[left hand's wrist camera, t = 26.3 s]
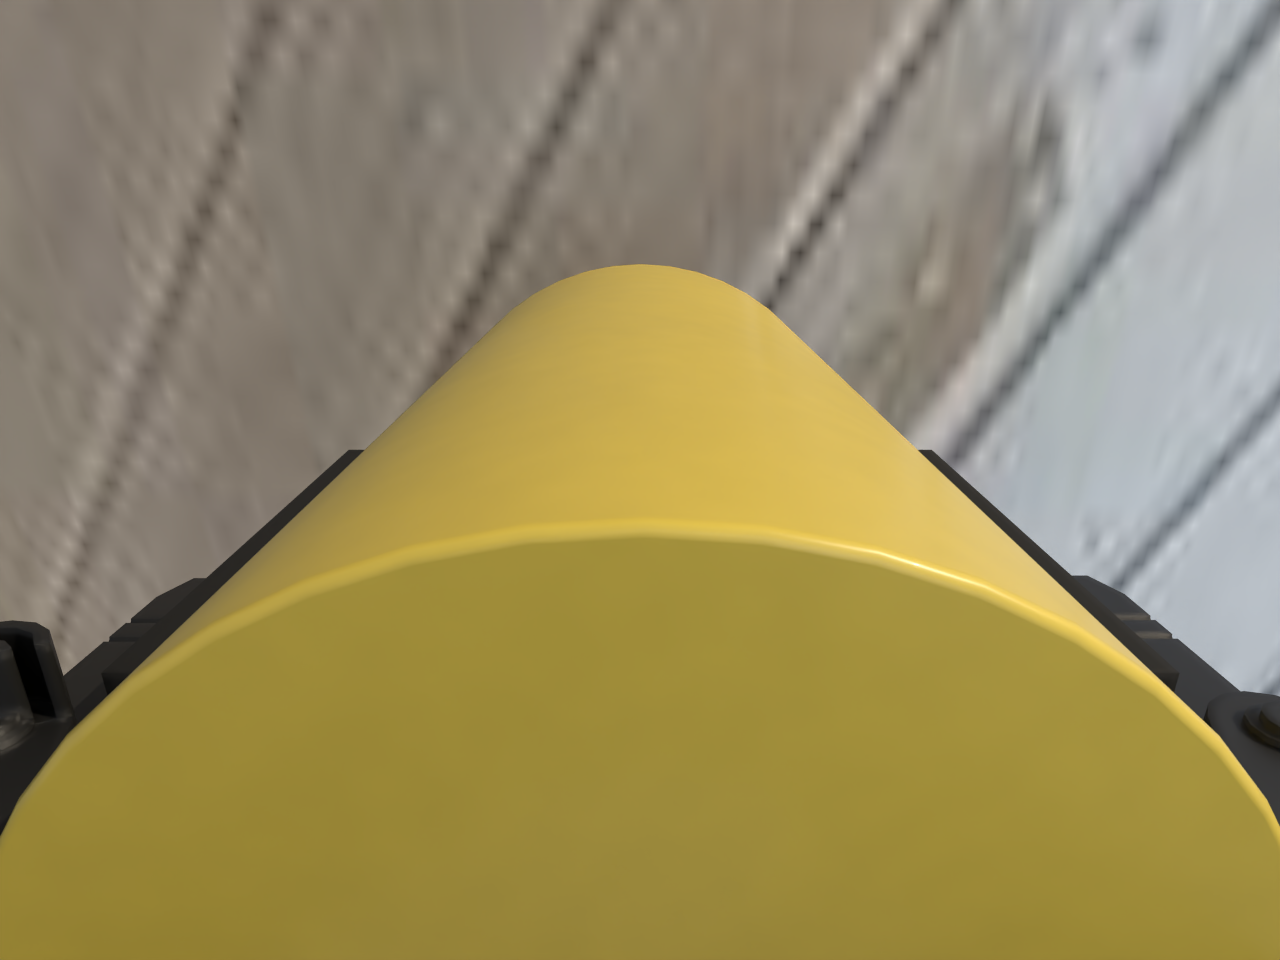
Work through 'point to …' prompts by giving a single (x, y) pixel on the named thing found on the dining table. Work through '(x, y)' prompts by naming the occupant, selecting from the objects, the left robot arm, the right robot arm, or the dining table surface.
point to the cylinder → (641, 698)
